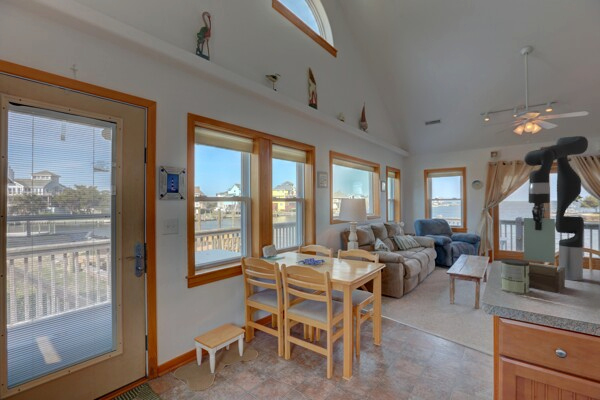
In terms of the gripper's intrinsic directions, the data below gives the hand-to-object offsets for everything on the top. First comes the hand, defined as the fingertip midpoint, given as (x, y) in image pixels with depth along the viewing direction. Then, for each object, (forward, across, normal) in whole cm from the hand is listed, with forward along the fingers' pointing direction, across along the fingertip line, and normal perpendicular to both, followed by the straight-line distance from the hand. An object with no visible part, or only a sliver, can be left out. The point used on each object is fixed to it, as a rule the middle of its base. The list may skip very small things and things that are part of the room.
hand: (538, 229), depth 129 cm
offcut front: (+27, -3, 0) cm, 27 cm away
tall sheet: (+15, 0, 0) cm, 15 cm away
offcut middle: (+27, -6, 0) cm, 28 cm away
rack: (+28, -4, 0) cm, 28 cm away
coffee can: (+28, +12, -6) cm, 31 cm away
